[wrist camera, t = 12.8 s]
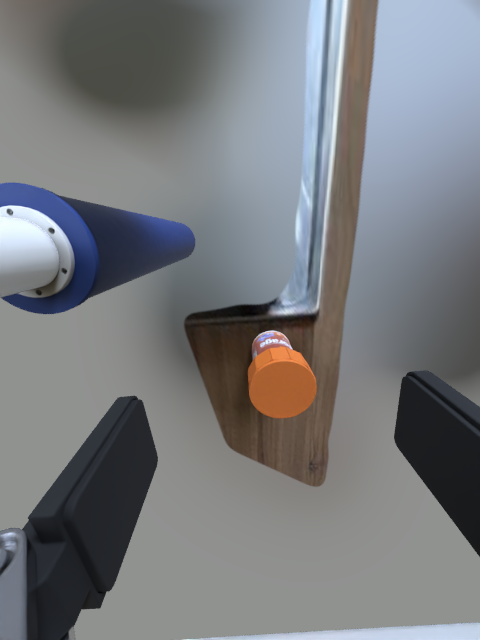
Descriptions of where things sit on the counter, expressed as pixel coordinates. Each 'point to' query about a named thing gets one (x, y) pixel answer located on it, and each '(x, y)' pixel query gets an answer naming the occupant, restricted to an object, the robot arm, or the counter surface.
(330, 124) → the counter surface
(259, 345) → the pill bottle
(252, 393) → the cap
